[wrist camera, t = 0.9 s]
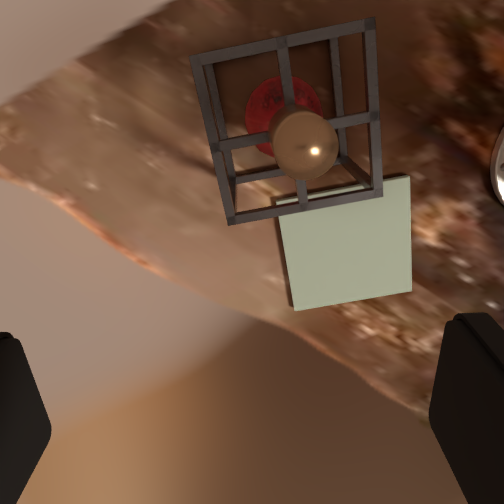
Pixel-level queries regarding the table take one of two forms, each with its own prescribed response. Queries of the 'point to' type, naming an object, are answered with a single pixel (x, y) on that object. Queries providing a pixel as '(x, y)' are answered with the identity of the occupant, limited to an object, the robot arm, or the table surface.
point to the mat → (349, 247)
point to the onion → (276, 105)
